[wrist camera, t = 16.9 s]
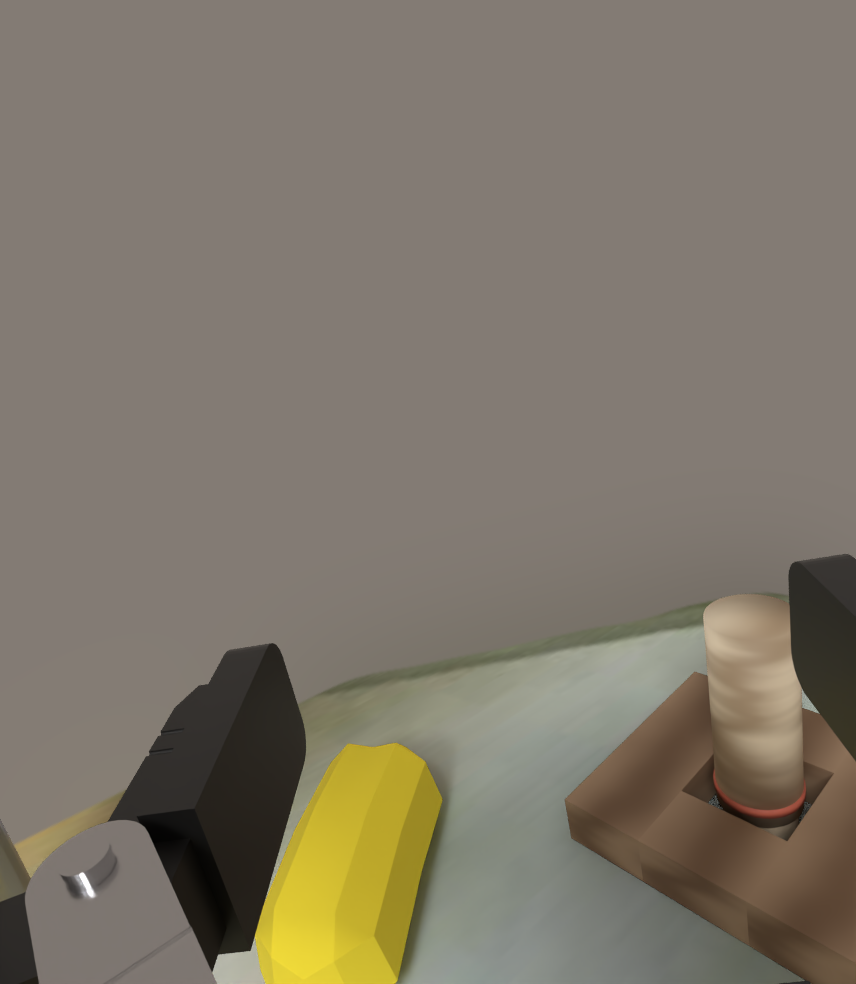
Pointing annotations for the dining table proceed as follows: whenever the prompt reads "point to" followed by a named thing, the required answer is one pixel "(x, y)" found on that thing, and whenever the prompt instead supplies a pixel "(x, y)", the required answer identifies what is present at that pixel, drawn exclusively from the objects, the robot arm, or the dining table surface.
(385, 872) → the low-poly banana
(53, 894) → the robot arm
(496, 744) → the dining table surface
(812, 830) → the board
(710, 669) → the peg
